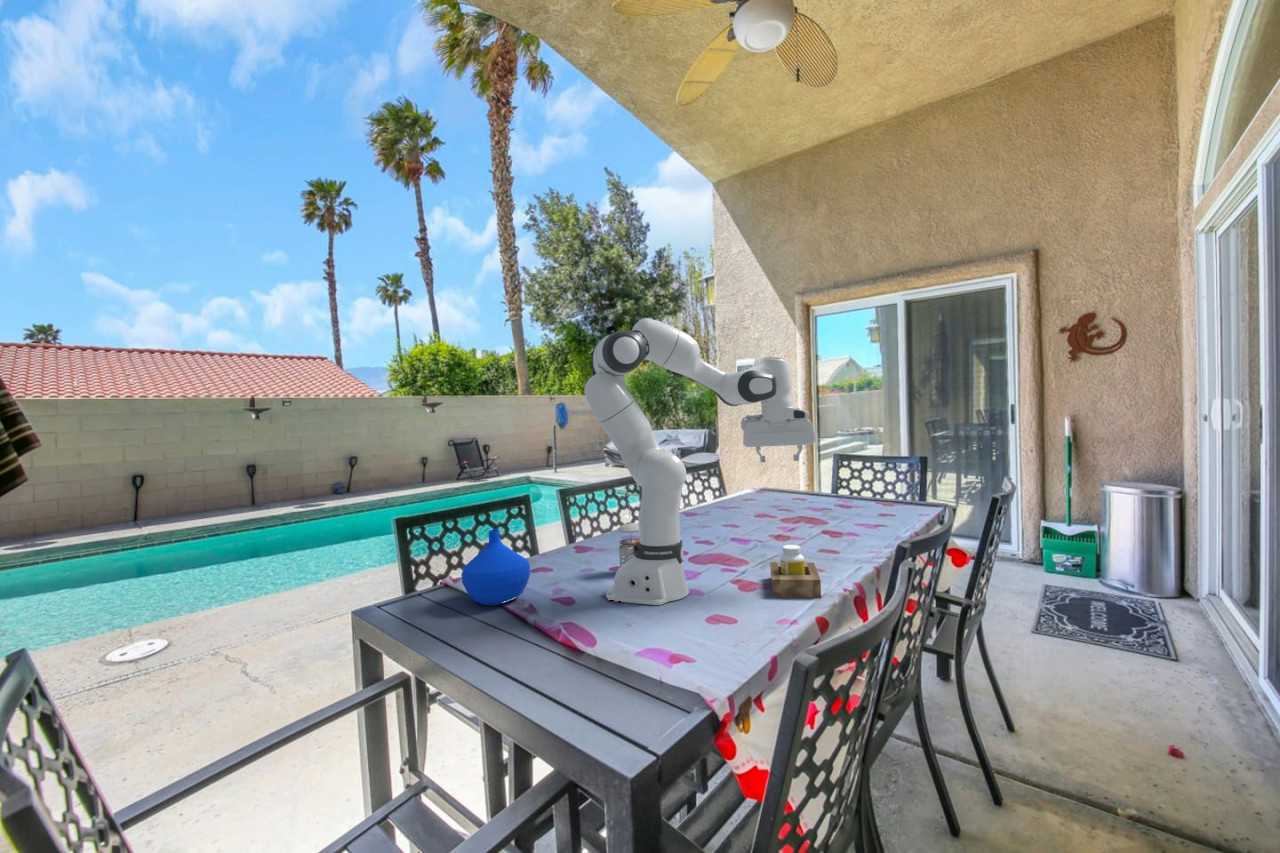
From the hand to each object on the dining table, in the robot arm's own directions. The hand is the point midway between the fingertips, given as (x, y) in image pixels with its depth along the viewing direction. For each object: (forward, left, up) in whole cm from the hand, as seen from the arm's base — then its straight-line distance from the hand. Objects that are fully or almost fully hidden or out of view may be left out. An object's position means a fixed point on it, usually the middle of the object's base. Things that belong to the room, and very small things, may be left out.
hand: (779, 461), depth 158 cm
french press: (-45, +2, -33) cm, 56 cm away
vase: (-78, -25, -33) cm, 88 cm away
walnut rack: (+2, -11, -33) cm, 35 cm away
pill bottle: (+2, -11, -33) cm, 35 cm away
